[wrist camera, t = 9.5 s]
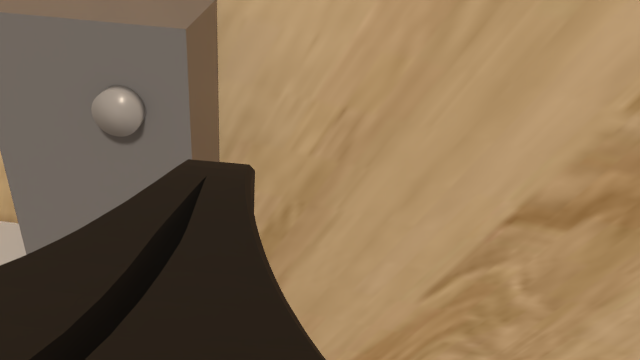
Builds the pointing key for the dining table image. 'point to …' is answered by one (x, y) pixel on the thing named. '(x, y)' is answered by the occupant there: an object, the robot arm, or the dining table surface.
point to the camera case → (101, 103)
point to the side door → (10, 242)
